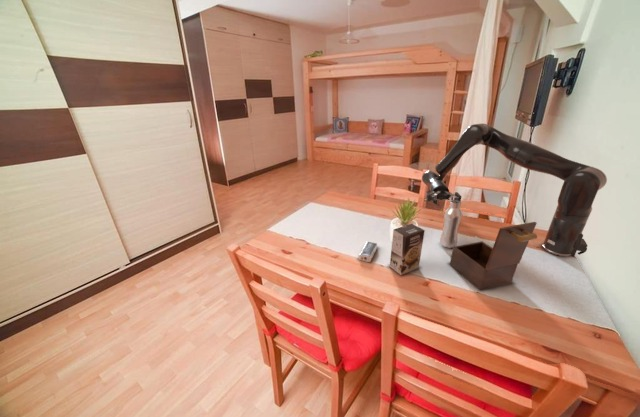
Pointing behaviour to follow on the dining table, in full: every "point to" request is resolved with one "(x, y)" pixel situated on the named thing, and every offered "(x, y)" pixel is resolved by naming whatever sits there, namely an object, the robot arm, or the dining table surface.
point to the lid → (510, 245)
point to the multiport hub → (368, 251)
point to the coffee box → (406, 248)
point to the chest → (480, 266)
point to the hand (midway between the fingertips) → (446, 202)
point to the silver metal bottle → (451, 225)
